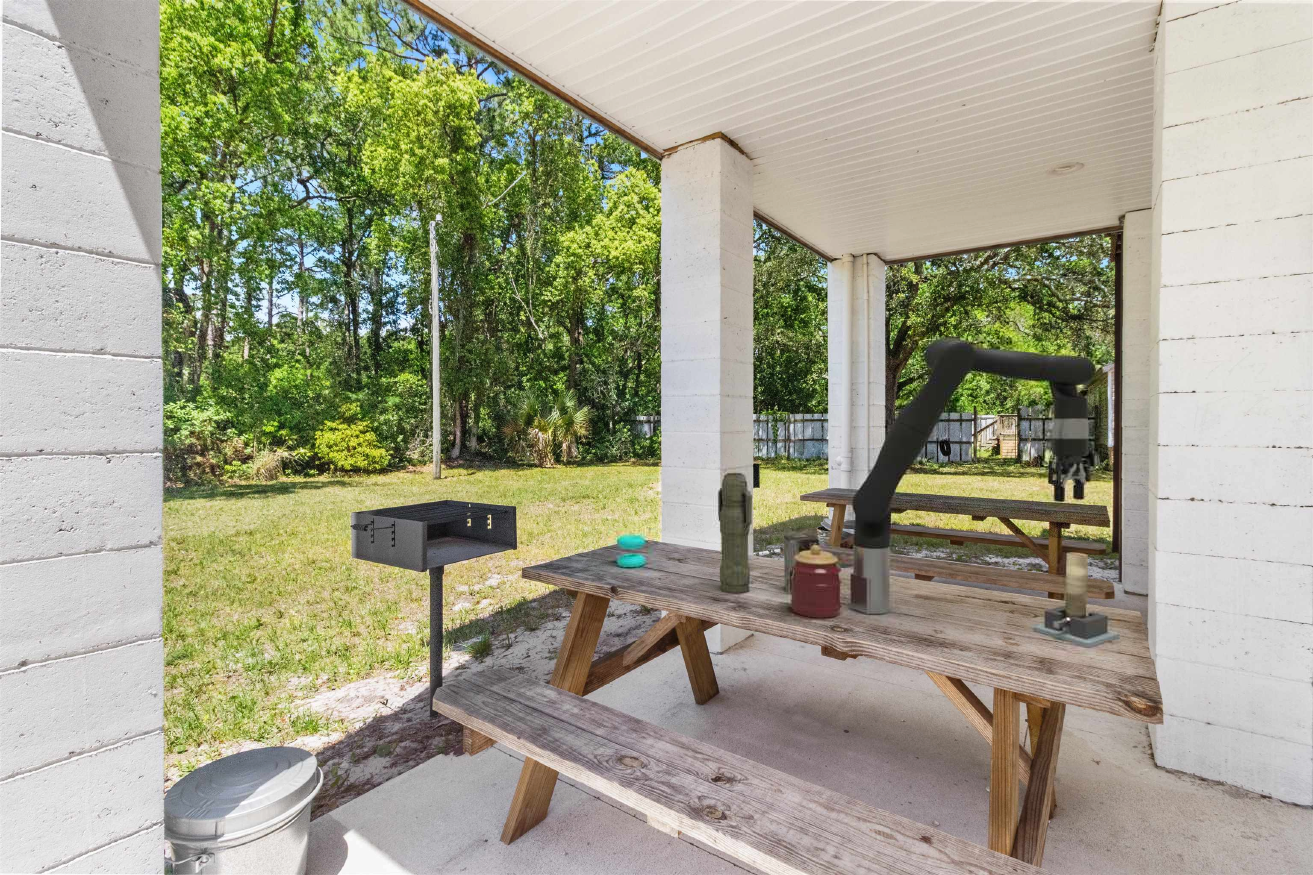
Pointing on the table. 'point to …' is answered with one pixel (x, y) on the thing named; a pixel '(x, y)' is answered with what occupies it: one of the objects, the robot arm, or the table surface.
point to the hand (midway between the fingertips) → (1069, 500)
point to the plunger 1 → (1062, 622)
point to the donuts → (631, 558)
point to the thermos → (734, 533)
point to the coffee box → (795, 553)
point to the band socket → (1078, 628)
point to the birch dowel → (1076, 586)
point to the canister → (816, 584)
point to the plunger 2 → (1089, 612)
